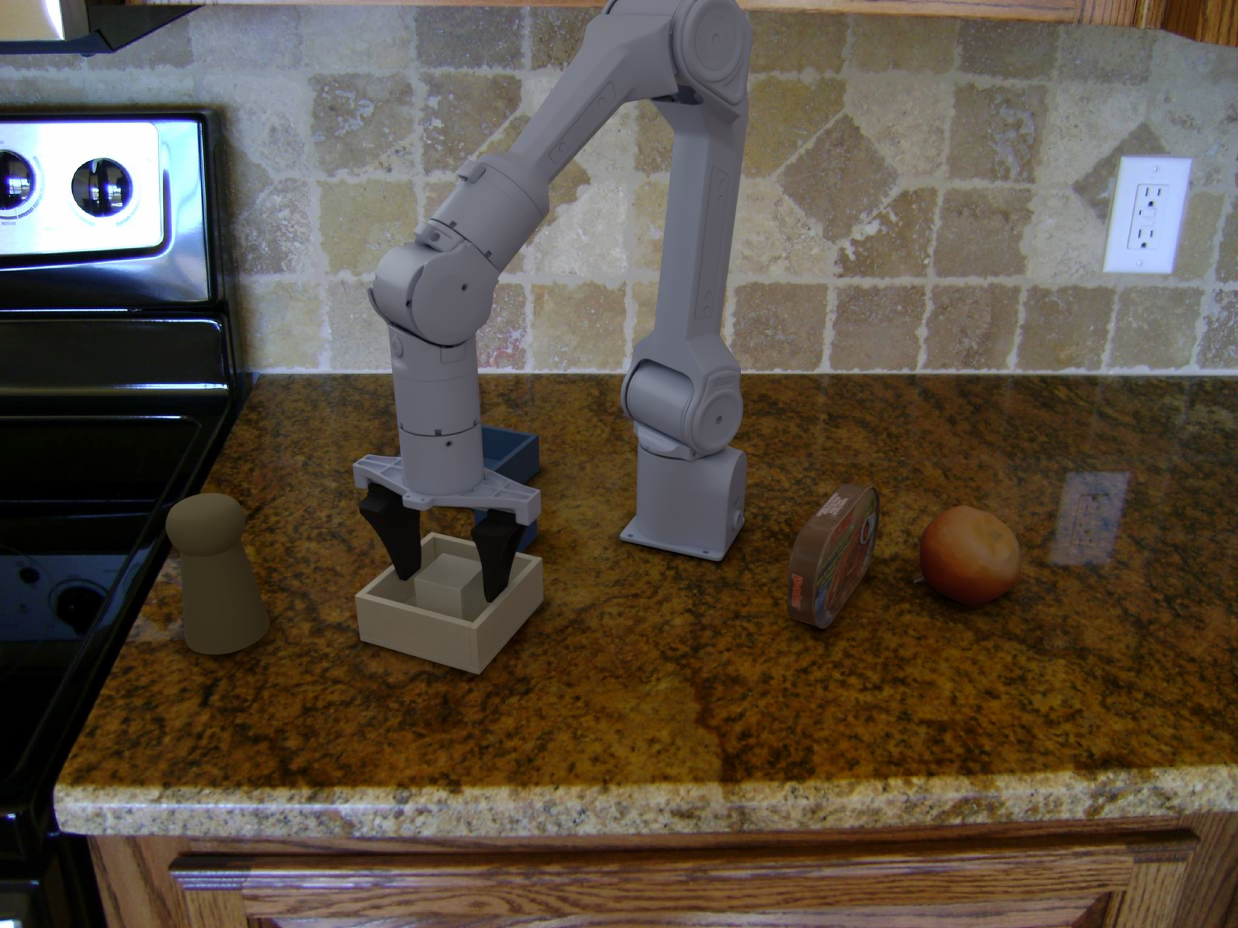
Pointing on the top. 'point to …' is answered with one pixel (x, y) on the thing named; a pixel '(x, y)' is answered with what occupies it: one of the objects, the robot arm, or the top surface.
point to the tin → (832, 554)
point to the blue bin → (510, 453)
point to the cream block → (452, 588)
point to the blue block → (527, 537)
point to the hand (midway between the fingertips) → (452, 584)
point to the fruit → (969, 556)
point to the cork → (216, 575)
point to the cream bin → (440, 637)
